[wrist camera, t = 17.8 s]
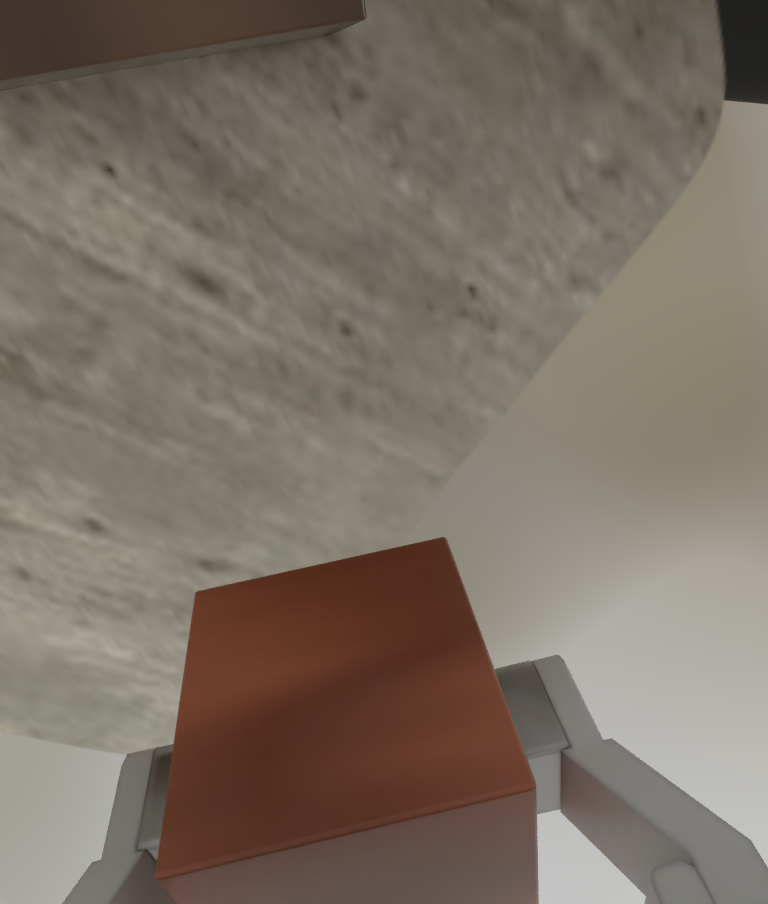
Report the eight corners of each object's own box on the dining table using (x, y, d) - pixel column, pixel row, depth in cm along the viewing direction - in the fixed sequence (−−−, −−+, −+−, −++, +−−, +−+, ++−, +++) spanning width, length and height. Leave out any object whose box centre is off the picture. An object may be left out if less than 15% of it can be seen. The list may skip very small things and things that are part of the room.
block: (445, 534, 11) (538, 786, 7) (464, 688, 14) (540, 934, 10) (193, 590, 11) (152, 879, 7) (261, 736, 13) (256, 1006, 10)
